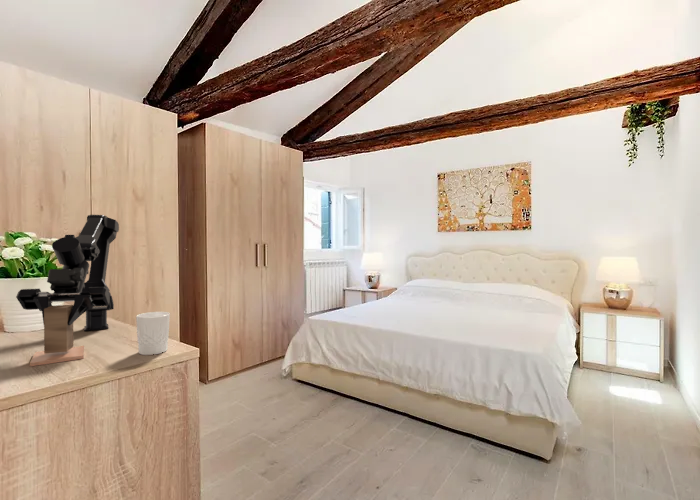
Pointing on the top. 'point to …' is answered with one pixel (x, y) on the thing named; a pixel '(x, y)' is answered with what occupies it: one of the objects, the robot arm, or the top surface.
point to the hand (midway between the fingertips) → (56, 325)
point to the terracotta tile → (57, 356)
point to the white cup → (152, 332)
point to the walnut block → (57, 329)
